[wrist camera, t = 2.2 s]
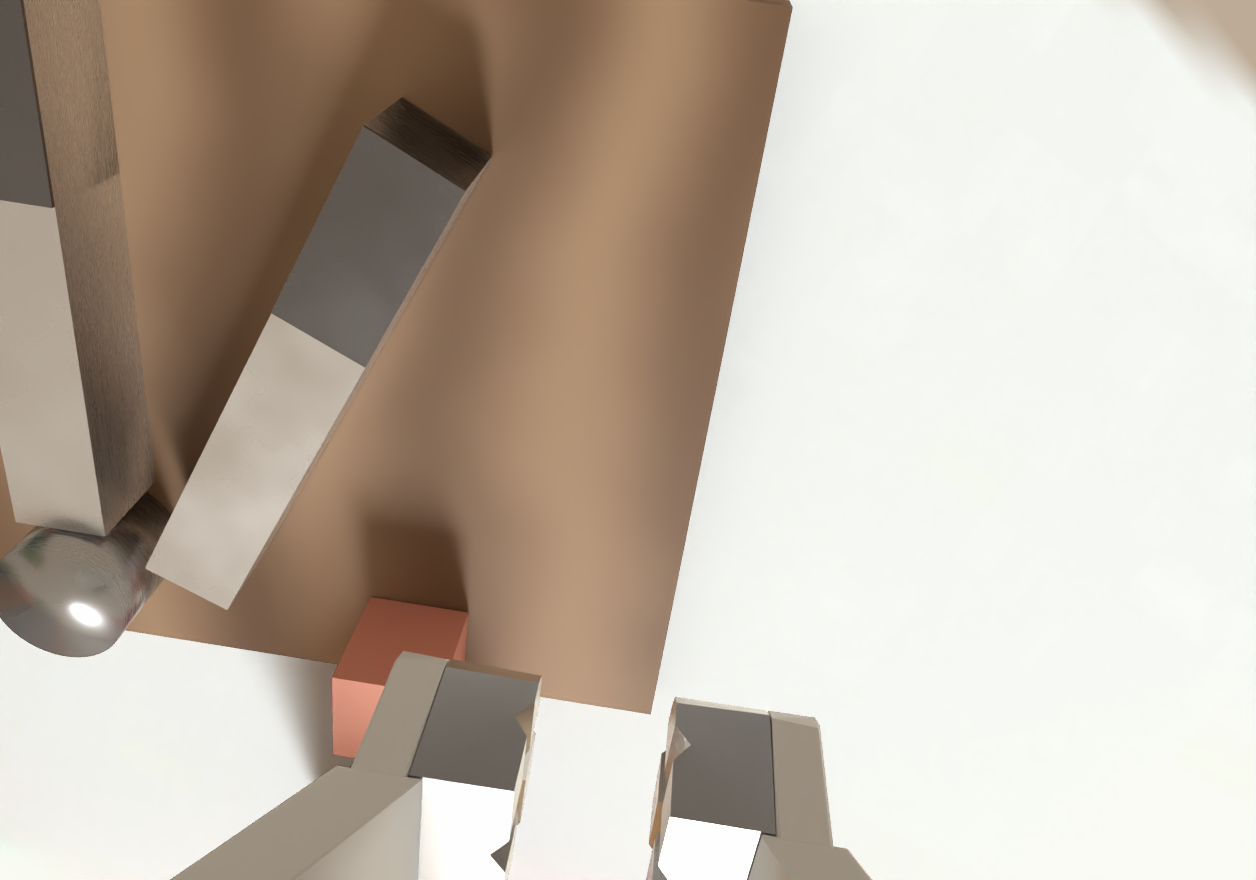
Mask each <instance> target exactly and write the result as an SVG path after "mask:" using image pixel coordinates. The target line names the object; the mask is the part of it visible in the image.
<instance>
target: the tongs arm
mask: <svg viewBox="0 0 1256 880" xmlns="http://www.w3.org/2000/svg"><path fill="white" fill-rule="evenodd" d="M491 158H492V155H491V154H489V153H488V152H486V151H485V150H483V149H481V148H480V147H478V146H477V145H475V144H474V143H472V142H471V141H469V140H468V139H466V138H464V137H463V136H461V135H460V134H458V133H457V132H455V131H454V130H452V129H451V128H449V127H447V126H446V125H444V124H443V123H441V122H440V121H438V120H437V119H435V118H434V117H432V116H430V115H429V114H427V113H426V112H424V111H423V110H421V109H420V108H418V107H417V106H415V105H413V104H412V103H410V102H409V101H407V100H406V99H404V98H403V97H401V98H400V99H399V100H397V101H396V102H395V103H393V104H392V105H391V106H389V107H388V108H387V109H385V110H384V111H383V112H381V113H380V114H379V115H377V116H376V117H375V118H373V119H372V120H371V121H369V122H368V123H367V124H365V125H364V126H363V128H362V130H361V132H360V134H359V136H358V138H357V140H356V142H355V144H354V146H353V148H352V150H351V152H350V154H349V156H348V158H347V160H346V162H345V164H344V166H343V168H342V170H341V172H340V174H339V176H338V178H337V180H336V182H335V184H334V186H333V188H332V190H331V192H330V194H329V196H328V198H327V200H326V202H325V204H324V206H323V208H322V210H321V212H320V214H319V216H318V218H317V220H316V222H315V224H314V226H313V229H312V231H311V233H310V235H309V237H308V239H307V241H306V243H305V245H304V247H303V249H302V251H301V253H300V255H299V257H298V259H297V261H296V263H295V265H294V267H293V269H292V271H291V273H290V275H289V277H288V279H287V281H286V283H285V285H284V287H283V289H282V291H281V293H280V295H279V297H278V299H277V301H276V303H275V305H274V307H273V309H272V311H271V315H270V317H269V319H268V321H267V323H266V325H265V327H264V329H263V331H262V333H261V335H260V337H259V339H258V341H257V343H256V345H255V347H254V349H253V351H252V353H251V355H250V357H249V359H248V361H247V363H246V365H245V367H244V369H243V371H242V373H241V375H240V377H239V380H238V382H237V384H236V386H235V388H234V390H233V392H232V394H231V396H230V398H229V400H228V402H227V404H226V406H225V408H224V410H223V412H222V414H221V416H220V418H219V420H218V422H217V424H216V426H215V428H214V430H213V432H212V434H211V436H210V438H209V440H208V442H207V444H206V446H205V448H204V450H203V452H202V454H201V456H200V458H199V460H198V462H197V464H196V466H195V468H194V470H193V472H192V474H191V476H190V478H189V480H188V482H187V484H186V486H185V488H184V490H183V492H182V494H181V496H180V498H179V500H178V503H177V505H176V507H175V509H174V511H173V513H172V515H171V514H170V513H169V511H168V510H167V509H166V508H165V507H164V506H163V505H162V504H161V503H160V502H159V501H158V500H156V499H155V498H154V497H152V496H151V495H150V494H148V493H146V492H145V493H144V494H143V495H142V497H141V498H140V499H139V500H138V501H137V502H136V503H135V504H134V505H133V506H132V508H131V509H130V510H129V511H128V512H127V513H126V514H125V515H124V516H123V517H122V519H121V520H120V521H119V522H118V523H117V524H116V525H115V526H114V527H113V528H112V530H111V531H110V532H109V533H108V534H107V535H106V536H98V535H92V534H86V533H80V532H73V531H67V530H61V529H55V528H48V527H42V526H35V527H34V528H33V529H32V530H31V531H30V532H29V533H28V534H27V535H26V536H25V537H24V538H23V539H22V540H21V541H20V542H19V543H18V544H17V545H16V546H15V547H14V548H13V549H12V550H11V551H10V552H9V553H8V554H7V555H6V556H4V557H3V558H2V559H1V560H0V618H1V619H2V621H3V622H4V623H5V624H6V625H7V626H8V627H9V628H10V629H11V630H12V631H13V632H14V633H16V634H17V635H18V636H19V637H21V638H22V639H24V640H25V641H27V642H28V643H30V644H32V645H34V646H36V647H38V648H40V649H42V650H45V651H48V652H51V653H54V654H58V655H62V656H68V657H88V656H93V655H96V654H100V653H102V652H104V651H106V650H107V649H109V648H110V647H111V646H112V645H113V644H114V643H115V642H116V641H117V640H118V638H119V637H120V636H121V634H122V633H123V632H124V631H125V629H126V628H127V627H128V625H129V624H130V623H131V622H132V620H133V619H134V618H135V616H136V615H137V614H138V613H139V611H140V610H141V609H142V607H143V606H144V605H145V603H146V602H147V601H148V600H149V598H150V597H151V596H152V594H153V593H154V592H155V591H156V589H157V588H158V587H159V585H160V584H161V583H162V581H163V580H164V579H167V580H169V581H171V582H173V583H175V584H177V585H179V586H181V587H183V588H185V589H187V590H189V591H190V592H192V593H194V594H196V595H198V596H200V597H202V598H204V599H206V600H208V601H210V602H212V603H214V604H216V605H218V606H220V607H222V608H224V609H226V610H228V608H229V607H230V605H231V604H232V602H233V601H234V599H235V598H236V596H237V595H238V593H239V592H240V590H241V589H242V587H243V586H244V584H245V583H246V581H247V580H248V578H249V576H250V575H251V573H252V572H253V570H254V569H255V567H256V566H257V564H258V563H259V561H260V560H261V558H262V557H263V555H264V554H265V552H266V551H267V549H268V547H269V546H270V544H271V542H272V540H273V539H274V537H275V535H276V533H277V532H278V530H279V528H280V526H281V525H282V523H283V521H284V519H285V518H286V516H287V514H288V512H289V511H290V509H291V507H292V505H293V504H294V502H295V500H296V498H297V497H298V495H299V493H300V491H301V490H302V488H303V486H304V484H305V483H306V481H307V479H308V477H309V476H310V474H311V472H312V470H313V469H314V467H315V465H316V463H317V462H318V460H319V458H320V456H321V455H322V453H323V451H324V449H325V448H326V446H327V444H328V442H329V441H330V439H331V437H332V436H333V434H334V432H335V430H336V429H337V427H338V425H339V423H340V422H341V420H342V418H343V416H344V415H345V413H346V411H347V409H348V408H349V406H350V404H351V402H352V401H353V399H354V397H355V395H356V394H357V392H358V390H359V388H360V387H361V385H362V383H363V381H364V380H365V378H366V376H367V374H368V373H369V371H370V369H371V367H372V366H373V364H374V362H375V360H376V359H377V357H378V355H379V353H380V352H381V350H382V348H383V346H384V345H385V343H386V341H387V339H388V338H389V336H390V334H391V332H392V331H393V329H394V327H395V325H396V324H397V322H398V320H399V318H400V317H401V315H402V313H403V311H404V310H405V308H406V306H407V305H408V303H409V301H410V299H411V298H412V296H413V294H414V292H415V291H416V289H417V287H418V285H419V284H420V282H421V280H422V278H423V277H424V275H425V273H426V271H427V270H428V268H429V266H430V264H431V263H432V261H433V259H434V257H435V256H436V254H437V252H438V250H439V249H440V247H441V245H442V243H443V242H444V240H445V238H446V236H447V235H448V233H449V231H450V229H451V228H452V226H453V224H454V222H455V221H456V219H457V217H458V215H459V214H460V212H461V210H462V208H463V207H464V205H465V203H466V201H467V200H468V198H469V196H470V194H471V193H472V191H473V189H474V187H475V186H476V184H477V182H478V180H479V179H480V177H481V175H482V173H483V172H484V170H485V168H486V167H487V165H488V163H489V161H490V160H491Z"/></svg>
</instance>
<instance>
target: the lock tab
mask: <svg viewBox="0 0 1256 880" xmlns="http://www.w3.org/2000/svg"><path fill="white" fill-rule="evenodd" d="M467 627H468V612H461V611H455V610H449V609H443V608H436V607H430V606H424V605H418V604H411V603H405V602H399V601H393V600H386V599H380V598H374V597H370V599H369V601H368V603H367V605H366V608H365V610H364V612H363V614H362V616H361V618H360V620H359V622H358V624H357V626H356V628H355V631H354V633H353V635H352V637H351V639H350V641H349V643H348V645H347V647H346V649H345V651H344V654H343V656H342V658H341V660H340V662H339V664H338V666H337V668H336V670H335V672H334V675H333V677H332V708H333V755H338V756H345V757H351V758H355V756H356V754H357V752H358V749H359V747H360V744H361V742H362V740H363V737H364V735H365V732H366V730H367V728H368V725H369V723H370V720H371V718H372V715H373V713H374V711H375V708H376V706H377V703H378V701H379V699H380V696H381V694H382V691H383V689H384V686H385V684H386V682H387V679H388V677H389V674H390V672H391V670H392V667H393V665H394V662H395V660H396V659H397V658H398V657H399V656H400V654H401V653H402V652H403V651H407V652H412V653H417V654H422V655H428V656H433V657H438V658H443V659H448V660H450V659H455V660H460V661H465V655H466V641H467Z"/></svg>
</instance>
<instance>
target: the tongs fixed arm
mask: <svg viewBox="0 0 1256 880" xmlns="http://www.w3.org/2000/svg"><path fill="white" fill-rule="evenodd" d="M0 448H1V453H2V458H3V462H4V467H5V472H6V477H7V482H8V487H9V492H10V497H11V501H12V506H13V511H14V516H15V521H16V522H17V523H23V524H30V525H36V526H42V527H48V528H55V529H61V530H67V531H73V532H80V533H86V534H92V535H98V536H106V535H107V534H108V533H109V532H110V531H111V530H112V528H113V527H114V526H115V525H116V524H117V523H118V522H119V521H120V520H121V519H122V517H123V516H124V515H125V514H126V513H127V512H128V511H129V510H130V509H131V508H132V506H133V505H134V504H135V503H136V502H137V501H138V500H139V499H140V498H141V497H142V495H143V494H144V493H145V492H146V491H147V490H148V489H149V488H150V487H151V486H152V484H153V483H154V482H155V481H156V475H155V467H154V458H153V450H152V441H151V433H150V424H149V416H148V407H147V399H146V390H145V382H144V373H143V365H142V356H141V348H140V339H139V331H138V322H137V314H136V305H135V297H134V288H133V280H132V271H131V263H130V254H129V246H128V237H127V229H126V220H125V212H124V203H123V195H122V186H121V178H120V169H119V161H118V152H117V144H116V135H115V126H114V118H113V109H112V101H111V92H110V84H109V75H108V67H107V58H106V50H105V41H104V33H103V24H102V16H101V7H100V0H0Z"/></svg>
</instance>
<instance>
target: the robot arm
mask: <svg viewBox="0 0 1256 880" xmlns="http://www.w3.org/2000/svg"><path fill="white" fill-rule="evenodd" d="M541 682H542V676H540V675H535V674H530V673H524V672H519V671H514V670H508V669H503V668H498V667H492V666H487V665H482V664H476V663H471V662H466V661H460V660H455V659H450V660H448V659H443V658H438V657H433V656H428V655H422V654H417V653H412V652H407V651H403V652H402V653H401V654H400V656H399V657H398V658H397V659H396V660H395V662H394V665H393V667H392V670H391V672H390V674H389V677H388V679H387V682H386V684H385V686H384V689H383V691H382V694H381V696H380V699H379V701H378V703H377V706H376V708H375V711H374V713H373V715H372V718H371V720H370V723H369V725H368V728H367V730H366V732H365V735H364V737H363V740H362V742H361V744H360V747H359V749H358V752H357V754H356V756H355V759H354V761H353V764H352V766H351V768H349V767H342V766H335V767H334V768H333V769H331V770H330V771H328V772H327V773H325V774H324V775H322V776H321V777H319V778H318V779H316V780H315V781H314V782H312V783H311V784H309V785H308V786H306V787H305V788H303V789H302V790H300V791H299V792H297V793H296V794H295V795H293V796H292V797H290V798H289V799H287V800H286V801H284V802H283V803H281V804H280V805H278V806H277V807H276V808H274V809H273V810H271V811H270V812H268V813H267V814H265V815H264V816H262V817H261V818H260V819H258V820H257V821H255V822H254V823H252V824H251V825H249V826H248V827H246V828H245V829H243V830H242V831H241V832H239V833H238V834H236V835H235V836H233V837H232V838H230V839H229V840H227V841H226V842H224V843H223V844H222V845H220V846H219V847H217V848H216V849H214V850H213V851H211V852H210V853H208V854H207V855H205V856H204V857H203V858H201V859H200V860H198V861H197V862H195V863H194V864H192V865H191V866H189V867H188V868H186V869H185V870H184V871H182V872H181V873H179V874H178V875H176V876H175V877H173V878H172V879H170V880H508V875H509V871H510V866H511V862H512V856H513V849H514V841H515V834H516V826H517V825H518V824H519V823H520V820H521V815H522V810H523V805H524V800H525V795H526V789H527V784H528V779H529V773H530V767H531V761H532V754H533V748H534V740H535V732H534V726H535V721H536V716H537V711H538V707H539V701H540V692H541ZM649 844H650V846H651V848H652V849H653V850H652V855H651V860H650V864H649V869H648V874H647V878H646V880H872V879H871V878H870V877H869V876H868V874H867V873H866V872H865V870H864V869H863V868H862V867H861V865H860V864H859V863H858V862H857V860H856V859H855V858H854V857H853V855H852V854H851V853H850V851H849V850H848V849H845V848H839V847H834V846H833V840H832V831H831V822H830V813H829V805H828V796H827V787H826V778H825V769H824V760H823V751H822V742H821V733H820V725H819V724H818V722H817V720H816V719H815V718H813V717H807V716H800V715H793V714H786V713H780V712H773V711H768V712H766V711H764V710H757V709H751V708H744V707H738V706H731V705H725V704H718V703H712V702H705V701H699V700H692V699H686V698H679V697H675V699H674V702H673V705H672V709H671V713H670V718H669V722H668V732H667V745H666V751H665V752H663V753H662V754H661V759H660V765H659V770H658V775H657V781H656V787H655V793H654V799H653V806H652V816H651V826H650V837H649Z"/></svg>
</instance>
